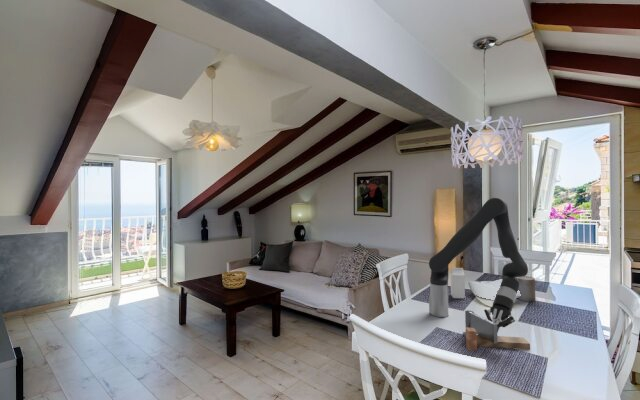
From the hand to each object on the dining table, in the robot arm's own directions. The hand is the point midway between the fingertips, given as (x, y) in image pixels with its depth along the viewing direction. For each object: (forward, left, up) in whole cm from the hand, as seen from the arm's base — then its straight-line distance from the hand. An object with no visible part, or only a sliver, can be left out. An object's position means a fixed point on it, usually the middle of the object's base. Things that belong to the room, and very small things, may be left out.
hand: (492, 333), depth 136 cm
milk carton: (-38, +59, -6) cm, 70 cm away
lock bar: (-5, +1, -5) cm, 8 cm away
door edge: (-1, +4, -6) cm, 7 cm away
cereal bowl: (-23, +79, -6) cm, 82 cm away
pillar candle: (-5, +83, -6) cm, 83 cm away
